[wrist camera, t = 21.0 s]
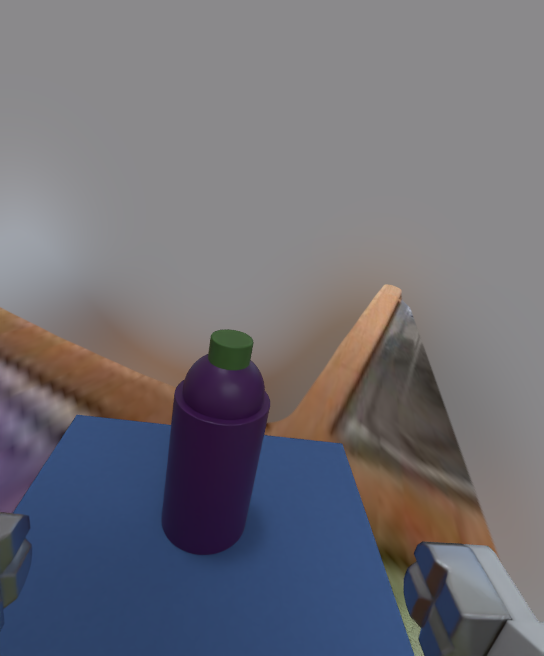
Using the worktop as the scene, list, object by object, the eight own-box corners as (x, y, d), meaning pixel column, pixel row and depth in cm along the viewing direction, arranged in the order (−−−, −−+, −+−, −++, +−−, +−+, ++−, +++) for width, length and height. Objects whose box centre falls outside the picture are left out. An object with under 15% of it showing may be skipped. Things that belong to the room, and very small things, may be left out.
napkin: (341, 446, 35) (342, 443, 35) (426, 700, 19) (428, 696, 19) (76, 417, 33) (76, 414, 33) (-97, 686, 16) (-98, 681, 16)
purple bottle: (245, 490, 28) (278, 325, 24) (245, 558, 24) (286, 368, 19) (169, 483, 28) (187, 312, 23) (153, 552, 23) (173, 353, 18)
